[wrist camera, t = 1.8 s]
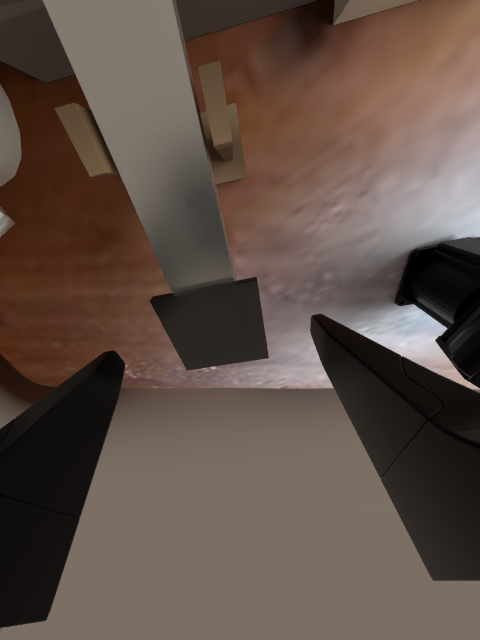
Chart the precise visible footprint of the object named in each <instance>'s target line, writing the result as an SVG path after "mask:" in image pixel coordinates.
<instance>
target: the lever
mask: <svg viewBox="0 0 480 640" xmlns="http://www.w3.org/2000/svg"><path fill="white" fill-rule="evenodd" d="M43 2H44V4H45V7H46V9H47V11H48V14H49V16H50V18H51V20H52V23H53V25H54V27H55V29H56V32H57V34H58V36H59V38H60V41H61V43H62V45H63V47H64V50H65V52H66V54H67V56H68V59H69V61H70V63H71V65H72V68H73V70H74V72H75V74H76V77H77V79H78V81H79V83H80V86H81V88H82V90H83V92H84V95H85V97H86V99H87V101H88V104H89V106H90V108H91V110H92V113H93V115H94V117H95V119H96V122H97V124H98V126H99V128H100V131H101V133H102V135H103V137H104V140H105V142H106V144H107V146H108V149H109V151H110V153H111V155H112V158H113V160H114V162H115V164H116V167H117V169H118V171H119V173H120V176H121V178H122V180H123V182H124V185H125V187H126V189H127V191H128V194H129V196H130V198H131V200H132V203H133V205H134V207H135V209H136V212H137V214H138V216H139V218H140V221H141V223H142V225H143V228H144V230H145V232H146V234H147V237H148V239H149V241H150V243H151V246H152V248H153V250H154V252H155V255H156V257H157V259H158V261H159V264H160V266H161V268H162V270H163V273H164V275H165V277H166V279H167V282H168V284H169V286H170V288H171V291H172V293H169V294H164V295H159V296H153V297H152V298H151V300H150V302H151V304H152V306H153V308H154V310H155V312H156V314H157V315H158V317H159V319H160V321H161V323H162V325H163V327H164V329H165V330H166V332H167V334H168V336H169V338H170V340H171V342H172V343H173V345H174V347H175V349H176V351H177V353H178V355H179V357H180V358H181V360H182V362H183V364H184V366H185V368H186V370H193V369H200V368H206V367H213V366H219V365H226V364H233V363H239V362H246V361H252V360H259V359H266V358H269V356H268V350H267V343H266V336H265V330H264V323H263V316H262V310H261V303H260V297H259V290H258V283H257V278H256V277H254V278H249V279H244V280H238V281H237V280H236V275H235V271H234V266H233V261H232V257H231V252H230V248H229V243H228V238H227V234H226V229H225V225H224V220H223V215H222V211H221V206H220V202H219V197H218V192H217V188H216V183H215V178H214V174H213V169H212V165H211V160H210V155H209V151H208V146H207V142H206V137H205V132H204V128H203V123H202V119H201V114H200V109H199V105H198V100H197V95H196V91H195V86H194V82H193V77H192V72H191V68H190V63H189V59H188V54H187V49H186V45H185V40H184V36H183V31H182V26H181V22H180V17H179V13H178V8H177V3H176V0H43Z"/></svg>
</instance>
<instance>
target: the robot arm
mask: <svg viewBox="0 0 480 640" xmlns="http://www.w3.org/2000/svg"><path fill="white" fill-rule="evenodd" d="M417 253H418V254H417ZM416 254H417V255H416ZM395 304H397V305H398V306H404V305H410V304H414V305H416V306H417V307H418V308H420V309H421V310H423V311H424V312H425V313H427V314H428V315H430V316H431V317H432V318H434V319H435V320H437V321H438V322H439V323H441V324H442V325H443V326H445V327H446V328H448V329H447V330H446V331H445V332H444V333H443V334H442V335H441V336H439V337H438V338H437V339H436V340H435V341H436V342H437V344H438V345H439V346H440V348H441V349H442V350H443V352H444V353H445V354H446V356H447V357H448V358H449V360H450V361H451V362H452V364H453V365H454V366H455V368H456V369H457V371H458V372H459V373H460V374H461V375H462V376H463V378H464V379H465V380H467V381H469V382H471V383H472V384H473V385H475V386H477V387H478V388H480V237H477V238H470V237H467V238H462V239H457V240H451V241H446V242H441V243H440V244H438V245H435V246H429V247H424V248H419V249H415V250H413V251H412V252H411V254H410V256H409V259H408V263H407V266H406V269H405V272H404V275H403V278H402V281H401V284H400V287H399V291H398V294H397V297H396V300H395ZM310 331H311V336H312V338H313V341H314V344H315V346H316V349H317V352H318V355H319V357H320V360H321V363H322V365H323V367H324V369H325V371H326V373H327V375H328V377H329V379H330V381H331V383H332V385H333V387H334V389H335V391H336V393H337V395H338V397H339V398H340V400H341V402H342V404H343V406H344V408H345V410H346V412H347V414H348V416H349V418H350V420H351V422H352V424H353V426H354V427H355V430H356V432H357V434H358V436H359V437H360V439H361V441H362V443H363V445H364V447H365V449H366V451H367V453H368V455H369V457H370V459H371V461H372V463H373V465H374V467H375V469H376V471H377V473H378V475H379V477H380V478H381V481H382V483H383V485H384V487H385V489H386V490H387V493H388V494H389V496H390V498H391V500H392V502H393V504H394V506H395V508H396V510H397V512H398V514H399V516H400V518H401V520H402V522H403V524H404V526H405V528H406V529H407V531H408V533H409V536H410V537H411V539H412V541H413V543H414V545H415V547H416V549H417V551H418V553H419V555H420V557H421V559H422V561H423V563H424V565H425V567H426V568H427V570H428V572H429V574H430V576H431V578H432V580H433V581H480V393H479V392H477V391H474V390H472V389H470V388H468V387H465V386H463V385H461V384H459V383H456V382H454V381H452V380H450V379H448V378H446V377H443V376H441V375H439V374H437V373H435V372H433V371H431V370H429V369H427V368H425V367H423V366H421V365H419V364H417V363H415V362H413V361H411V360H409V359H407V358H405V357H403V356H402V357H401V355H399V354H397V353H395V352H393V351H392V350H390V349H388V348H386V347H384V346H382V345H380V344H378V343H376V342H374V341H372V340H370V339H369V338H367V337H365V336H363V335H361V334H359V333H357V332H355V331H353V330H351V329H349V328H348V327H346V326H344V325H342V324H340V323H338V322H336V321H334V320H332V319H330V318H328V317H327V316H325V315H323V314H317V315H313V316H312V317H311V328H310ZM124 369H125V363H124V361H123V360H122V359H121V357H120V356H119V355H118V354H117V352H115V351H107V352H104V353H102V354H101V355H100V356H98V357H97V358H96V359H94V360H93V361H92V362H90V363H89V364H88V365H86V366H85V367H84V368H82V369H81V370H80V371H78V372H77V373H75V374H74V375H73V376H71V377H70V378H69V379H67V380H66V381H65V382H63V383H62V384H61V385H59V386H58V387H57V388H55V389H54V390H53V391H51V392H50V393H48V394H47V395H46V396H44V397H43V398H42V399H40V400H39V401H38V402H36V403H35V404H34V405H32V406H31V407H30V408H28V409H27V410H25V411H24V412H23V413H21V414H20V415H19V416H18V417H16V418H15V419H13V420H12V421H11V422H9V423H8V424H6V425H5V426H4V427H3V428H1V429H0V632H1V630H2V628H3V627H10V626H16V625H23V624H29V623H35V622H42V621H46V619H47V617H48V615H49V613H50V610H51V607H52V604H53V601H54V598H55V595H56V591H57V588H58V585H59V582H60V579H61V576H62V573H63V570H64V566H65V563H66V560H67V557H68V554H69V550H70V548H71V544H72V542H73V538H74V535H75V532H76V529H77V526H78V523H79V520H80V518H79V517H80V516H81V513H82V510H83V507H84V503H85V500H86V497H87V494H88V491H89V488H90V485H91V482H92V479H93V476H94V472H95V469H96V466H97V463H98V460H99V457H100V454H101V450H102V448H103V445H104V441H105V438H106V435H107V432H108V429H109V426H110V423H111V419H112V416H113V413H114V410H115V407H116V404H117V401H118V397H119V393H120V388H121V384H122V379H123V374H124Z"/></svg>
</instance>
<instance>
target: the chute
mask: <svg viewBox="0 0 480 640" xmlns="http://www.w3.org/2000/svg"><path fill="white" fill-rule="evenodd" d="M315 1H318V0H176V3H177V8H178V13H179V17H180V22H181V26H182V31H183V36H184V40H185V41H186V40H189V39H193V38H196V37H199V36H203V35H206V34H209V33H213V32H216V31H219V30H222V29H226V28H229V27H232V26H236V25H239V24H242V23H246V22H249V21H252V20H256V19H259V18H262V17H265V16H269V15H272V14H275V13H279V12H282V11H285V10H289V9H292V8H295V7H298V6H302V5H305V4H308V3H312V2H315ZM0 61H2V62H4V63H6V64H8V65H10V66H12V67H14V68H16V69H18V70H20V71H22V72H24V73H26V74H28V75H30V76H33V77H35V78H37V79H39V80H41V81H43V82H45V83H47V82H51V81H54V80H57V79H61V78H64V77H67V76H70V75H74V74H75V72H74V70H73V68H72V65H71V63H70V61H69V59H68V56H67V54H66V52H65V50H64V47H63V45H62V43H61V41H60V38H59V36H58V34H57V32H56V29H55V27H54V25H53V23H52V20H51V18H50V16H49V14H48V11H47V9H46V7H45V4H44V2H43V0H0Z"/></svg>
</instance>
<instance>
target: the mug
mask: <svg viewBox="0 0 480 640" xmlns="http://www.w3.org/2000/svg"><path fill="white" fill-rule="evenodd" d="M20 160H21V142H20V131H19V128H18V125H17V122H16V119H15V116H14V113H13V110H12V107H11V104H10V101H9V99H8V97H7V95H6V93H5V91H4V90H3V88H2V86H1V84H0V186H3V185H4V184H5V183H7V182H8V181H9V180H10V179H12V178H13V177H14V176H15V175H16V172H17V169H18V166H19V163H20ZM14 224H15V222H14V221H13V220H12V219H11V218H10V217H9V216H8V214H7V213H6V212H5V211H4V210H3V209H2V208H1V207H0V237H1V236H2V235H3V234H4V233H6V232H7V231H8V230H9V229H10V228H11V227H12V226H13V225H14Z"/></svg>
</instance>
